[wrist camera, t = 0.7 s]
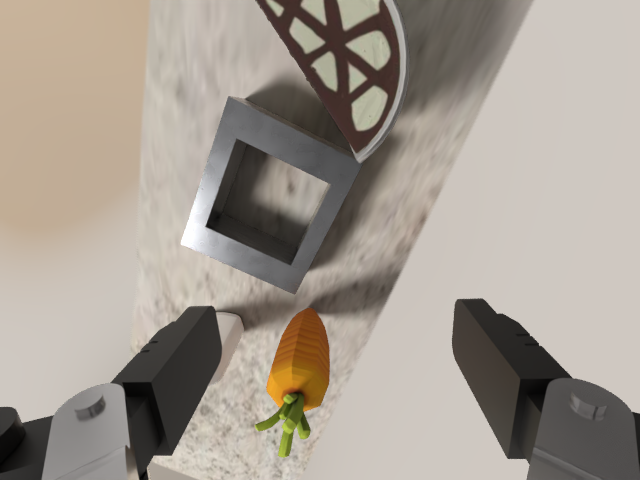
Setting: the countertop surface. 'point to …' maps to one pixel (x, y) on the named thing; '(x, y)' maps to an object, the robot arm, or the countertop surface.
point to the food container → (349, 61)
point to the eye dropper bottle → (227, 341)
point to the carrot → (298, 376)
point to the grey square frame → (225, 157)
